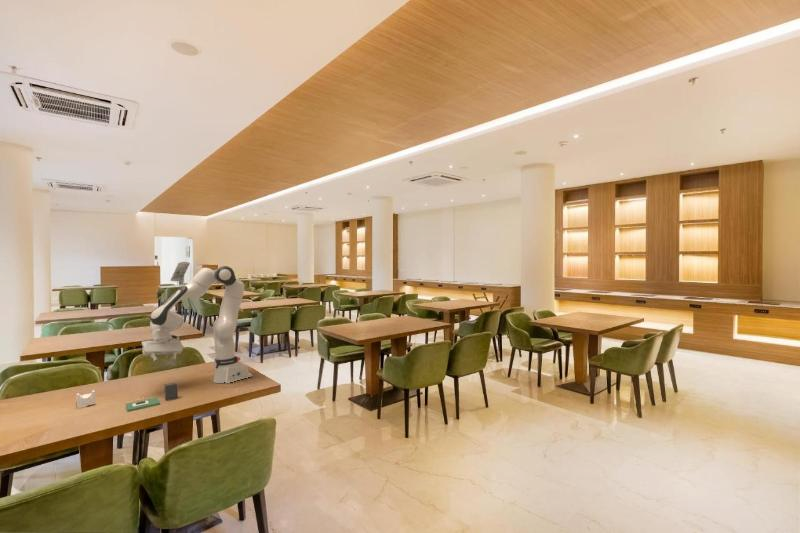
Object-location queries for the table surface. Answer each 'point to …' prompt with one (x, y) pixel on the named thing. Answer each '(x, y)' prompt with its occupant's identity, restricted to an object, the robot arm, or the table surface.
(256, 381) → the table surface
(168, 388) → the block
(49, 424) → the table surface
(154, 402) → the header board
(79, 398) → the bracket
